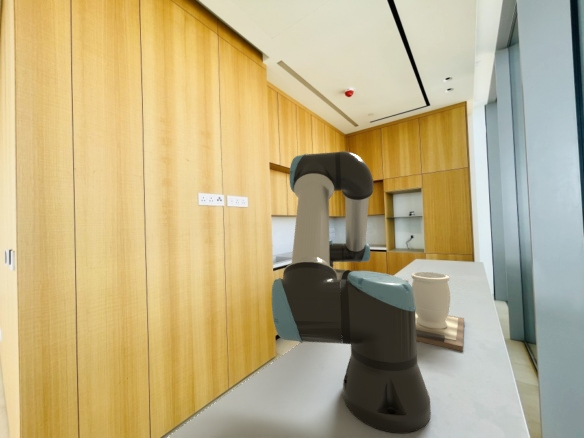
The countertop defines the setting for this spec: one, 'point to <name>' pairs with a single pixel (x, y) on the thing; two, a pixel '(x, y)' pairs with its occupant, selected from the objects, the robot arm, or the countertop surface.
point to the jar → (431, 298)
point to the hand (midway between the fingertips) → (401, 288)
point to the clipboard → (443, 333)
